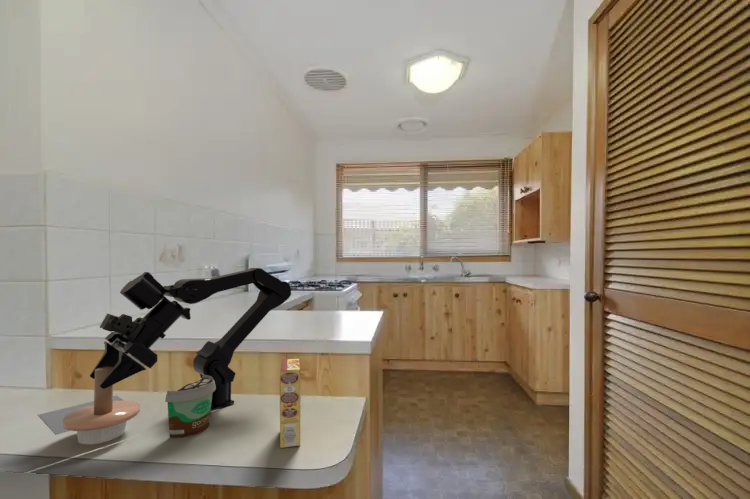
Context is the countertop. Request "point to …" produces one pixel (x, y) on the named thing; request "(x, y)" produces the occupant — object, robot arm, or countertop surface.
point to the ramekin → (101, 434)
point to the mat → (57, 416)
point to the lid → (101, 408)
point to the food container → (190, 408)
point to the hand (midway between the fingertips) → (96, 382)
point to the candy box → (290, 403)
